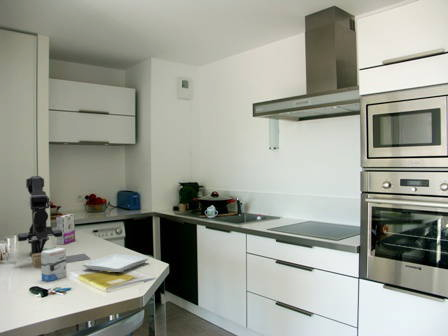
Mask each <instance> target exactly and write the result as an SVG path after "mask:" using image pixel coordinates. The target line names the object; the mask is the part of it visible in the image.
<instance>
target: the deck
mask: <svg viewBox="0 0 448 336" xmlns="http://www.w3.org/2000/svg"><path fill="white" fill-rule="evenodd" d="M31 263H32V265H33V267H34V268H41V253H36V254H32V255H31Z"/></svg>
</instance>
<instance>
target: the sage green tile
mask: <svg viewBox="0 0 448 336" xmlns="http://www.w3.org/2000/svg"><path fill="white" fill-rule="evenodd" d="M55 248H57V246H50V247H49V246H48V247H44V248H43V251H45V250H50V249H55Z"/></svg>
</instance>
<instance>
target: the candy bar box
mask: <svg viewBox="0 0 448 336" xmlns="http://www.w3.org/2000/svg"><path fill="white" fill-rule="evenodd" d="M58 229H59V230H61V231H62V236H61V237H56V241H57V245H59V246H60V245H61V246H63V245H68V244H70V243H74V242H75V241H76V233H75V232H76V230H75V229H76V227H75V215H74V213H72V214H69V213H68V214H63V215H60V216H56V230H58Z"/></svg>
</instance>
